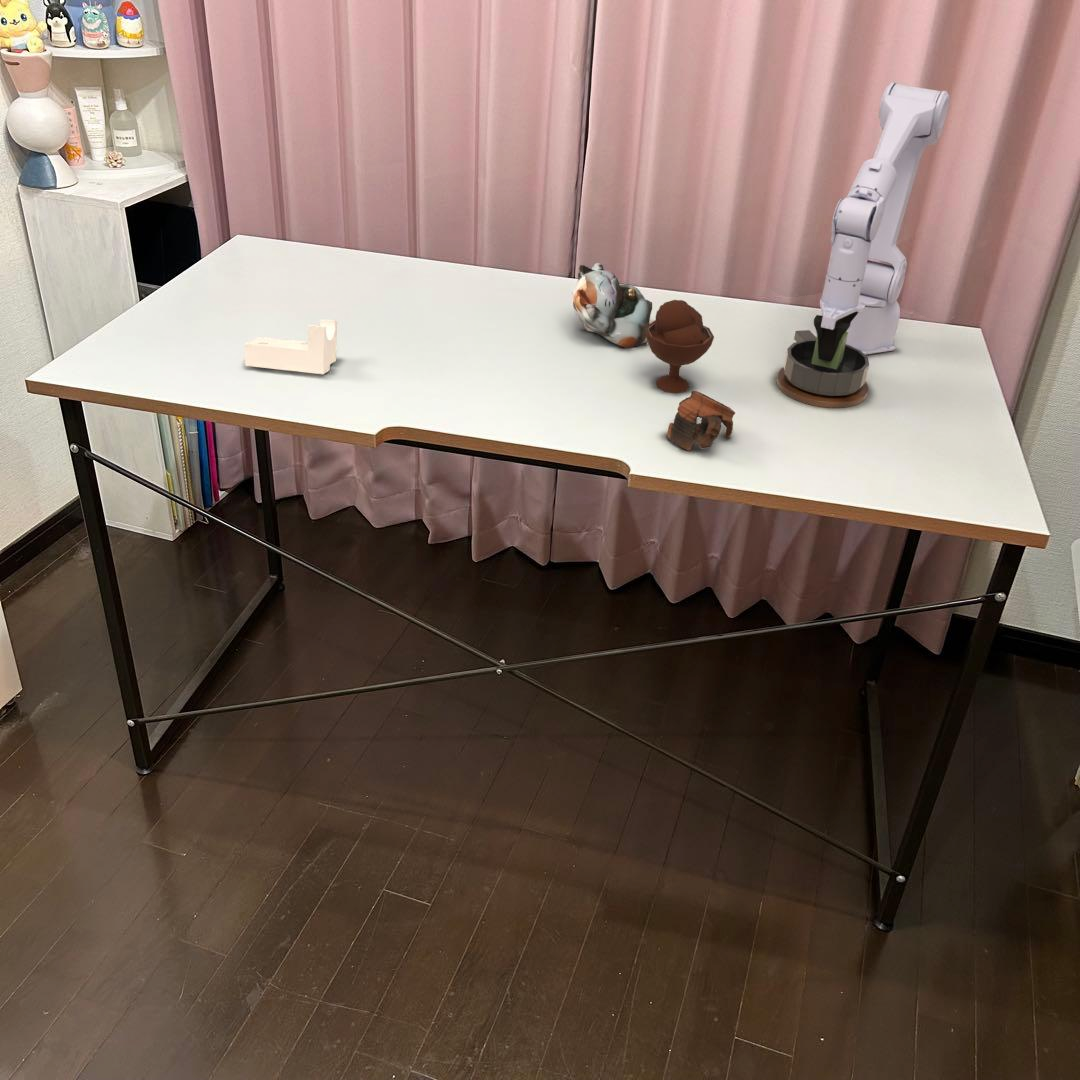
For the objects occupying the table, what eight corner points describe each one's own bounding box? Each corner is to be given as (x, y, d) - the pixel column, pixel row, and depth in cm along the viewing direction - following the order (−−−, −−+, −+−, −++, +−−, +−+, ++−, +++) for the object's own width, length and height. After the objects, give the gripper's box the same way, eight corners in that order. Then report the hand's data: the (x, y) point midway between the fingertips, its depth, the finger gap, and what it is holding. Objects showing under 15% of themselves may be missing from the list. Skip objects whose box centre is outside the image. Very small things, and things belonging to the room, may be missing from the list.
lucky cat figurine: (648, 353, 197) (619, 290, 188) (585, 366, 202) (554, 306, 193) (660, 299, 206) (633, 236, 197) (600, 313, 211) (570, 252, 202)
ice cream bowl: (703, 404, 182) (716, 317, 174) (634, 394, 184) (644, 307, 175) (708, 376, 191) (721, 291, 183) (643, 367, 193) (652, 283, 184)
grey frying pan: (877, 396, 185) (883, 371, 183) (802, 401, 183) (807, 376, 180) (832, 351, 199) (837, 328, 196) (762, 355, 196) (766, 332, 193)
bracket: (336, 366, 189) (337, 320, 186) (323, 374, 182) (324, 327, 180) (260, 357, 190) (260, 312, 188) (244, 365, 183) (244, 318, 181)
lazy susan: (832, 362, 198) (833, 357, 198) (885, 400, 187) (887, 395, 186) (759, 373, 193) (760, 368, 192) (809, 413, 182) (810, 408, 181)
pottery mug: (654, 429, 176) (679, 381, 174) (704, 453, 179) (729, 406, 177) (679, 449, 164) (706, 398, 163) (733, 474, 168) (759, 424, 166)
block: (817, 354, 190) (823, 326, 187) (842, 360, 188) (848, 332, 185) (811, 363, 186) (816, 335, 184) (836, 369, 185) (842, 341, 182)
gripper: (860, 295, 172) (842, 376, 180) (879, 265, 183) (861, 343, 191) (815, 286, 174) (799, 366, 182) (836, 257, 185) (820, 334, 193)
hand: (828, 354), depth 186 cm, fingers closed on block, 4 cm apart
